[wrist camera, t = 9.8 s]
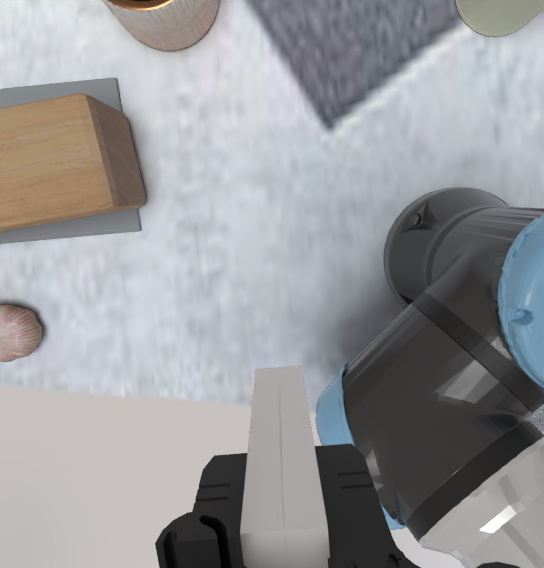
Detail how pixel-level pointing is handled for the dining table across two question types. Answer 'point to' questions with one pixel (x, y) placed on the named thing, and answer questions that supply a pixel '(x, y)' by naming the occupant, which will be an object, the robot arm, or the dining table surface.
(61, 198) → the wooden block
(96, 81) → the mat
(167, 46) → the planter
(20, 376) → the dining table surface
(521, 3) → the can
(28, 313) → the garlic bulb
